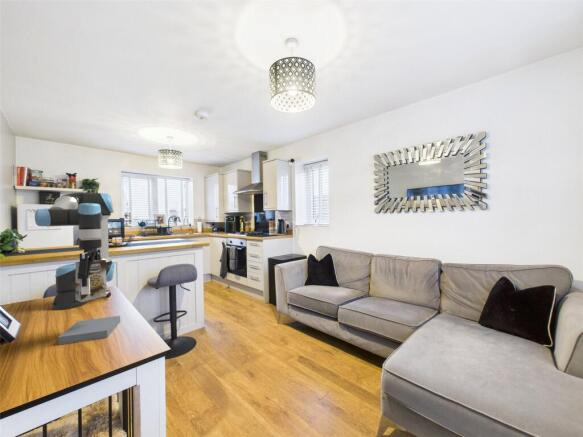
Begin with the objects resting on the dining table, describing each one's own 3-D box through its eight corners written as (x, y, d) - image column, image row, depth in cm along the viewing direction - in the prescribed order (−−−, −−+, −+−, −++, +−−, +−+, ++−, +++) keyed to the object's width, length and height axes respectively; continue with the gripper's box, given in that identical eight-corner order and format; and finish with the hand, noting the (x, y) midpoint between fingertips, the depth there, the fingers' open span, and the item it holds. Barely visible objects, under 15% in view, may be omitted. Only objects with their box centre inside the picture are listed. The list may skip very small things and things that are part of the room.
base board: (78, 327, 111) (78, 320, 111) (120, 321, 116) (120, 315, 116) (58, 344, 96) (58, 337, 96) (107, 337, 101) (107, 330, 101)
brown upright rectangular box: (81, 302, 100) (80, 263, 100) (75, 300, 103) (74, 261, 103) (107, 296, 108) (106, 259, 108) (100, 294, 111) (100, 258, 111)
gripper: (91, 237, 115) (92, 284, 115) (65, 241, 94) (66, 299, 94) (110, 237, 118) (111, 283, 118) (89, 240, 96) (90, 297, 96)
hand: (91, 290), depth 106 cm, fingers closed on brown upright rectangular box, 10 cm apart
